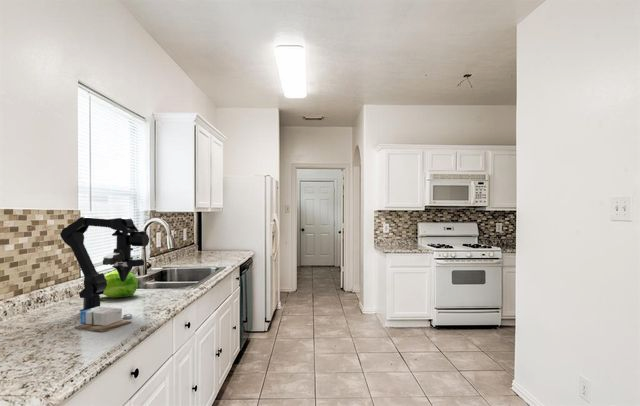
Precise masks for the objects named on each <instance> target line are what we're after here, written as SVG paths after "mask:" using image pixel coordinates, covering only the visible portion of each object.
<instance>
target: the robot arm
mask: <svg viewBox="0 0 640 406" xmlns="http://www.w3.org/2000/svg"><path fill="white" fill-rule="evenodd" d="M90 227H100V228H109V229H111V230H114V232H113V233H112V234H111V236H112V237H116V247H115V248H113V251H112V253H108V254H107V255H106V256H103V259H102V265H104V266H108V265H110V266H111V267H112V268H114V269H115V270H117V271H118V273H119V276H120V279H121V281H122V282H124V281H125V280H126V278H127V276H128V274H129V272H132V271H131V270H132V269H133V268H136V267H142V266H145V260H144V259H143V258H134V257H133V256H132V251H134V248H133V247H147V246H148V245H149V243H150V238H149V234H147V230H142V231H139V229H138V227H136V225H135V223H134V220H133V219H132V218H130V217H117V218H100V217H90V216H80V217H79V218H78V219H77V220H75V221H74V222H72V223H70V224H68V225H67V226H66V227H63V229H61V231H60V234H59V235H60V238H61V239H62V241H63V242H64V243H65V245H67V246H68V247H70V248H71V250H72V253H73V255H74V257H75V259H76V261H77V264H78V266H79V268H80V270H81V273H82V274H83V276H84V279H83V287H84V288H83V289H82V290H81V291H80V292H79V293H78V296H79V298H80V299H83V300H82V301H83V306H82V308H80V309H79V312H81V311H85V310H88V309H91V308H95V307H98V306H99V307H101V295H103V292H104V290H105V289H106V286H107V282H106V281H107V280H106V279H105V276H106V275H105V273H99V272H98V271H97V269H96V267H95V265H94V263H93V261H92V259H91V256H90V255H89V253H88V251H87V248H86V246H85V244H84V243H85V235H84V234H85V233H86V232H87V230H88V229H89V228H90Z"/></svg>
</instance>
